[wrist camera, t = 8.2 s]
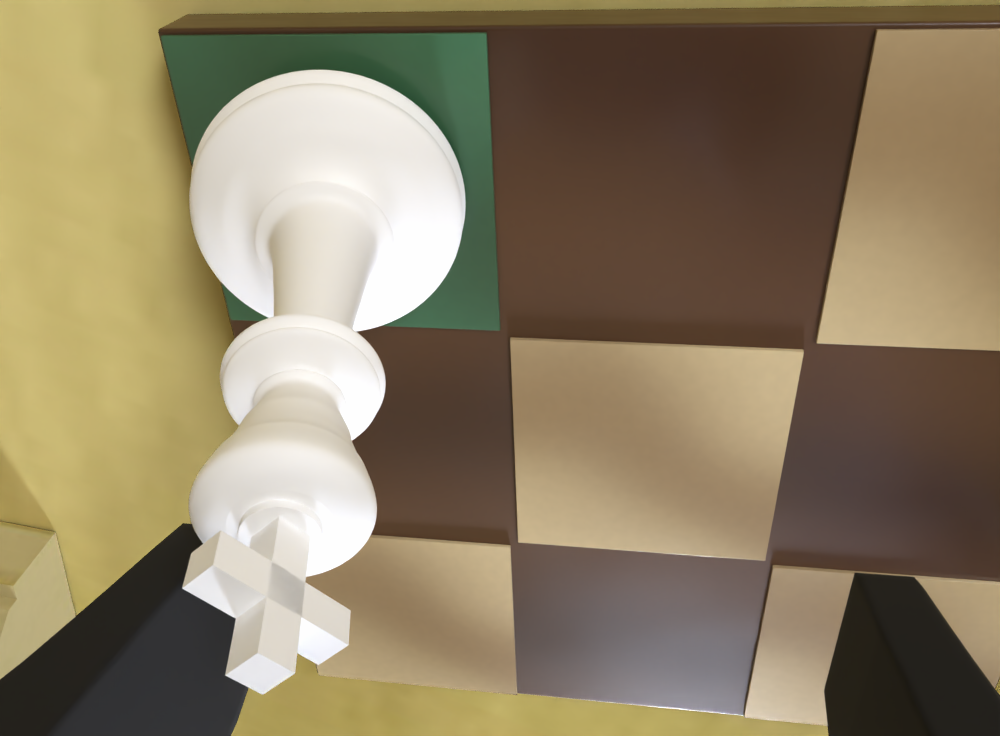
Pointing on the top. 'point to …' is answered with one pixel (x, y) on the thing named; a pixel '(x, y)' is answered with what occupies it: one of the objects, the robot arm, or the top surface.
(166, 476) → the top surface
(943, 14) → the game board
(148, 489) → the top surface
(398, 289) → the chess piece
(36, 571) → the decorative clock
